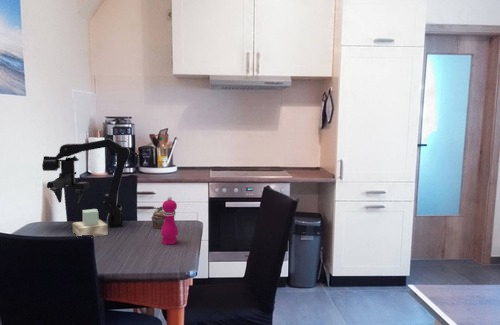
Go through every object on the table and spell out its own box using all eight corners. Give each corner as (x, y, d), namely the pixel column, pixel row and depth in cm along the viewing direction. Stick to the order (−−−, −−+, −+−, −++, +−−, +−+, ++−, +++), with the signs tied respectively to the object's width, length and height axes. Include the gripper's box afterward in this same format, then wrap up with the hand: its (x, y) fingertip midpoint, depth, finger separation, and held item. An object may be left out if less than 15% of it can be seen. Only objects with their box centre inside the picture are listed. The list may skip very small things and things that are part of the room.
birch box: (99, 229, 180) (99, 219, 180) (107, 235, 171) (107, 224, 170) (72, 233, 173) (72, 222, 172) (79, 239, 164) (79, 228, 163)
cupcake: (173, 224, 190) (173, 205, 189) (168, 229, 180) (168, 209, 179) (155, 223, 190) (155, 204, 189) (148, 229, 181) (148, 208, 180)
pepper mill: (180, 240, 165) (180, 195, 163) (175, 245, 158) (175, 198, 156) (164, 239, 166) (164, 194, 164) (158, 244, 158) (158, 197, 156)
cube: (96, 221, 175) (96, 208, 175) (98, 224, 170) (98, 211, 169) (82, 222, 172) (82, 210, 172) (84, 226, 167) (83, 212, 166)
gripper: (38, 171, 171) (39, 205, 173) (76, 173, 169) (77, 207, 170) (53, 169, 182) (55, 200, 184) (89, 170, 179) (90, 202, 181)
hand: (68, 202), depth 179 cm, fingers open, 9 cm apart
